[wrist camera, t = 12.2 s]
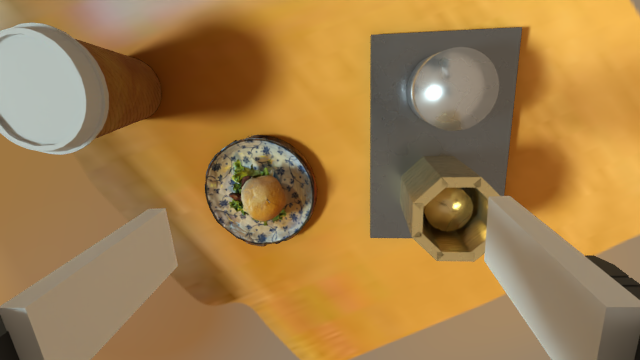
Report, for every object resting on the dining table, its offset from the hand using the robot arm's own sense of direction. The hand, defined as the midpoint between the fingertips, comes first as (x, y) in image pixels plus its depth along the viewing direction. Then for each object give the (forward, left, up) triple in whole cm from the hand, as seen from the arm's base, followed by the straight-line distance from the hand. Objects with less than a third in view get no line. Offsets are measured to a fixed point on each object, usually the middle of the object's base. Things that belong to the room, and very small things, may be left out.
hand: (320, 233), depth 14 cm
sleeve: (+5, +9, -21) cm, 24 cm away
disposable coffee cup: (-6, -22, -23) cm, 32 cm away
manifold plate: (0, +9, -22) cm, 24 cm away
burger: (+5, -9, -23) cm, 25 cm away
